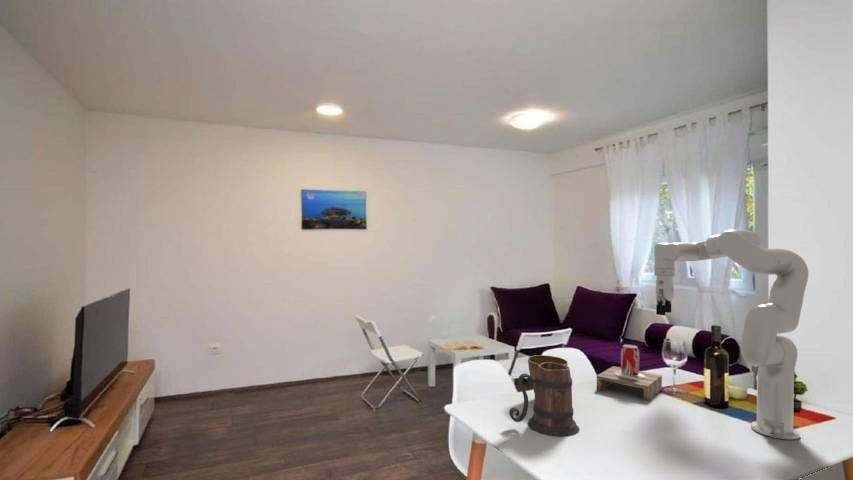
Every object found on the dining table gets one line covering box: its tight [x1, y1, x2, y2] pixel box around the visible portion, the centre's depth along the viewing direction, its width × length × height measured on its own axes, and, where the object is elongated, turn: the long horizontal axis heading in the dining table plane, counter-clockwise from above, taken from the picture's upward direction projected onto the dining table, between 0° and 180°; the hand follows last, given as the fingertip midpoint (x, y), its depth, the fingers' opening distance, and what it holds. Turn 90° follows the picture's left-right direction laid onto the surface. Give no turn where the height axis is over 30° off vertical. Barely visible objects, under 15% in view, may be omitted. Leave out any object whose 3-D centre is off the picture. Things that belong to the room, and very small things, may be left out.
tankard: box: [508, 362, 581, 438], centre depth 150 cm, size 24×17×20 cm
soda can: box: [620, 344, 640, 376], centre depth 189 cm, size 7×7×12 cm
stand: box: [596, 365, 663, 402], centre depth 189 cm, size 20×20×6 cm
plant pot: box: [527, 354, 569, 394], centre depth 174 cm, size 15×15×16 cm
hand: (663, 313), depth 188 cm, fingers open, 9 cm apart
